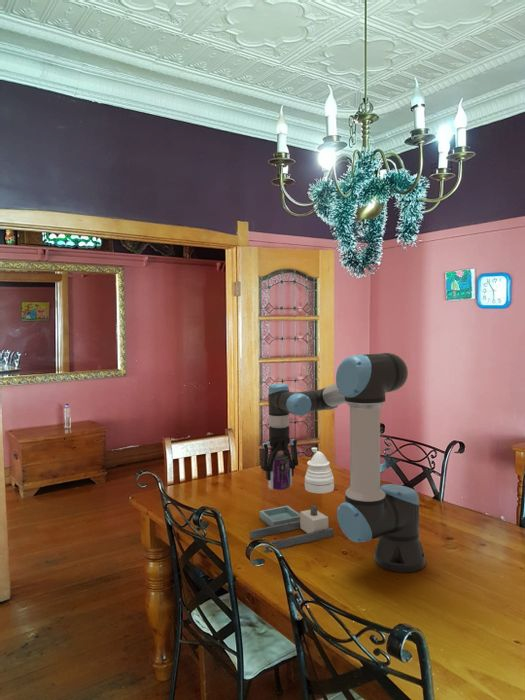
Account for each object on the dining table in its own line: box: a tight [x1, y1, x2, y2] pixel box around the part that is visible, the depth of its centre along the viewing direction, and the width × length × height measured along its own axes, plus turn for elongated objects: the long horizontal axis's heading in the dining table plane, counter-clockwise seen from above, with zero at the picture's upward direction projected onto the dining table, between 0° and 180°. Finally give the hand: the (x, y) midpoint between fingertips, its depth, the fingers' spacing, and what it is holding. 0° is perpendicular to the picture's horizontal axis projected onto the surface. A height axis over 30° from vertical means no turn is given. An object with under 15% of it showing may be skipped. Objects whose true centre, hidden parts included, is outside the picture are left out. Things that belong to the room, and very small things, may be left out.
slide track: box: [249, 520, 334, 553], centre depth 177 cm, size 12×26×2 cm, turn 115°
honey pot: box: [304, 447, 335, 494], centre depth 227 cm, size 13×13×18 cm
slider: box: [299, 504, 329, 534], centre depth 181 cm, size 9×6×9 cm, turn 25°
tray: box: [259, 505, 300, 527], centre depth 191 cm, size 12×12×3 cm
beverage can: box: [271, 453, 291, 491], centre depth 190 cm, size 7×7×12 cm
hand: (280, 486), depth 190 cm, fingers closed on beverage can, 7 cm apart
